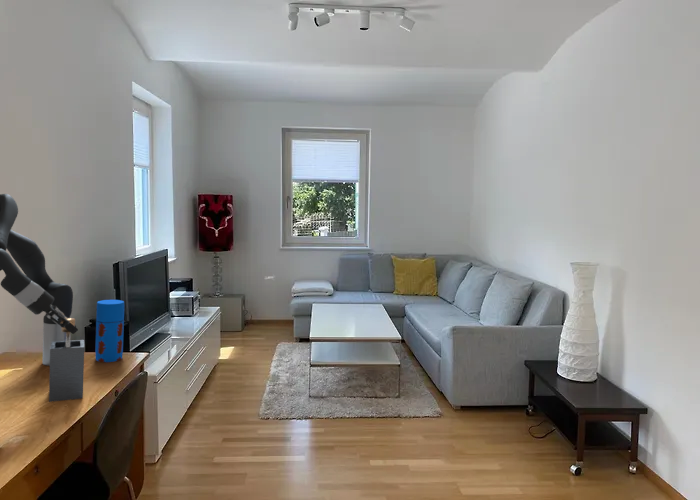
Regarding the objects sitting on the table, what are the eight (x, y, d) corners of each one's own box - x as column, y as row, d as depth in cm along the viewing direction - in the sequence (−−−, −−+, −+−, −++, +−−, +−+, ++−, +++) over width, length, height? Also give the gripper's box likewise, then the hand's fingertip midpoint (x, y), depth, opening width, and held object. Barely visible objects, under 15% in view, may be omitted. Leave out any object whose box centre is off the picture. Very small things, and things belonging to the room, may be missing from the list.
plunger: (56, 389, 172) (57, 317, 170) (77, 387, 175) (79, 316, 173) (55, 395, 166) (56, 321, 164) (77, 393, 169) (79, 321, 167)
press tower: (50, 391, 172) (51, 341, 171) (82, 388, 177) (84, 339, 176) (48, 401, 164) (50, 349, 162) (82, 398, 168) (84, 347, 167)
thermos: (111, 363, 206) (113, 305, 204) (89, 360, 208) (90, 302, 207) (127, 356, 217) (129, 301, 215) (106, 353, 219) (108, 298, 217)
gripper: (23, 302, 166) (63, 333, 174) (25, 310, 155) (68, 343, 163) (42, 286, 169) (81, 318, 177) (45, 292, 158) (86, 326, 166)
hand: (74, 330), depth 170 cm, fingers closed on plunger, 4 cm apart
